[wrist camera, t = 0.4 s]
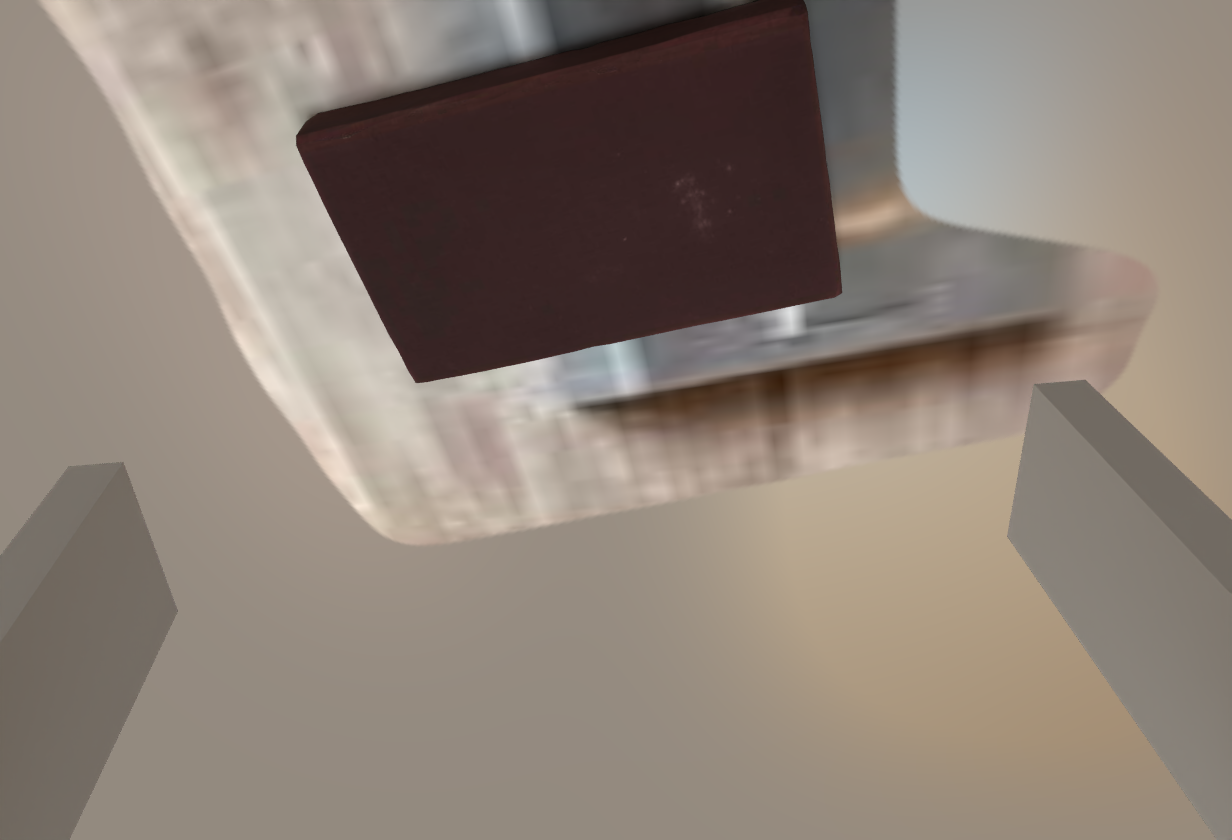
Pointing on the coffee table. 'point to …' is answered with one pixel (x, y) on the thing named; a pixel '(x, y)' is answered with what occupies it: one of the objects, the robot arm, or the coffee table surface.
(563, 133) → the book
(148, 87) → the coffee table surface
